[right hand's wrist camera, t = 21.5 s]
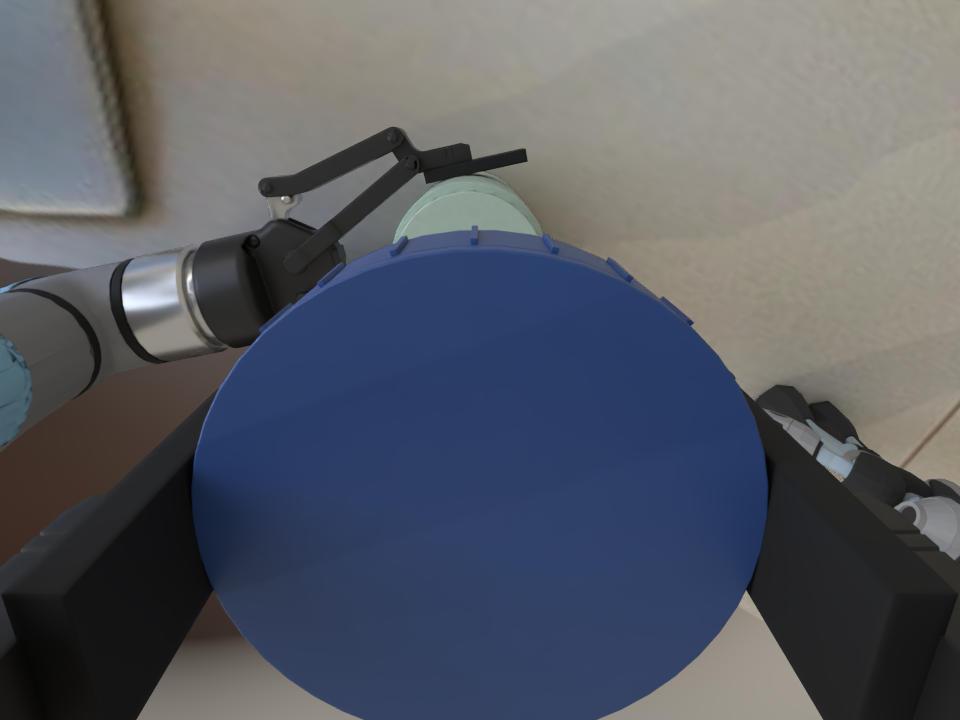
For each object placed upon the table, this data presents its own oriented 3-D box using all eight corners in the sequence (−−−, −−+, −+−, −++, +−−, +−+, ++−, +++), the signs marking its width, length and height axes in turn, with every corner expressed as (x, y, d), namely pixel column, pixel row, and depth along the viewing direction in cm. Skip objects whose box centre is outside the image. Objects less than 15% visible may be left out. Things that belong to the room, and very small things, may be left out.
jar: (485, 145, 44) (490, 147, 30) (549, 243, 47) (582, 290, 32) (391, 215, 46) (352, 248, 31) (457, 305, 48) (450, 376, 34)
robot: (907, 429, 52) (1150, 591, 33) (874, 474, 54) (1089, 653, 35) (712, 349, 50) (857, 476, 31) (683, 399, 51) (805, 549, 32)
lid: (317, 689, 14) (291, 776, 12) (155, 287, 11) (84, 319, 9) (739, 621, 13) (782, 702, 12) (704, 170, 10) (758, 177, 8)
